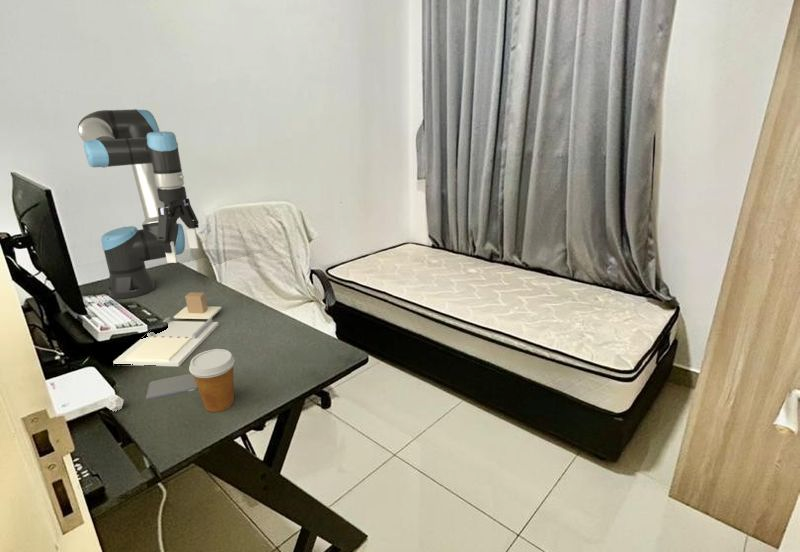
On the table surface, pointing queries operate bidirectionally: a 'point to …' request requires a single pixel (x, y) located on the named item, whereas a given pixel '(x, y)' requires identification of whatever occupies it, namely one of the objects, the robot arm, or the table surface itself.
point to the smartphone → (171, 386)
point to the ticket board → (168, 344)
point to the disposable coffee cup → (214, 378)
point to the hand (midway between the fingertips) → (183, 255)
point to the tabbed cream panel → (197, 307)
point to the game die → (114, 403)
